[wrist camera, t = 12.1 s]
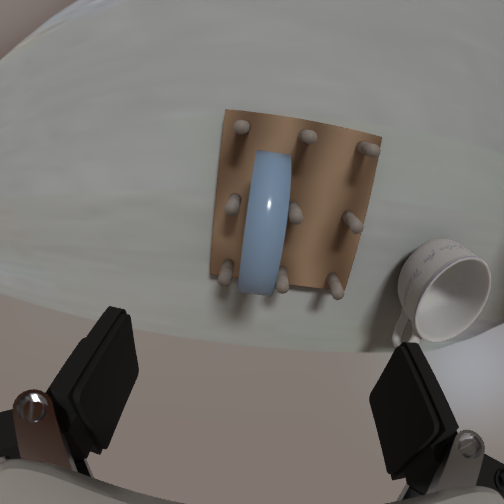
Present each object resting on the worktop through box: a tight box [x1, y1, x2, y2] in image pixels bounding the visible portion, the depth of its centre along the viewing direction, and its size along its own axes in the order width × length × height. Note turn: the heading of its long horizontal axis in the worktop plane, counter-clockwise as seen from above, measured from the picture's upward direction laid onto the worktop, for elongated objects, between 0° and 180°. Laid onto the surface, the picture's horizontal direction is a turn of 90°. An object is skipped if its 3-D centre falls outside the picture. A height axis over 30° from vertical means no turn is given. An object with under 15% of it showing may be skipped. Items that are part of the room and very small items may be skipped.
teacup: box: [392, 238, 491, 348], centre depth 29 cm, size 14×11×8 cm
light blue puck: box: [238, 150, 291, 296], centre depth 23 cm, size 2×11×12 cm, turn 173°
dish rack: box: [210, 109, 382, 300], centre depth 28 cm, size 15×17×5 cm
